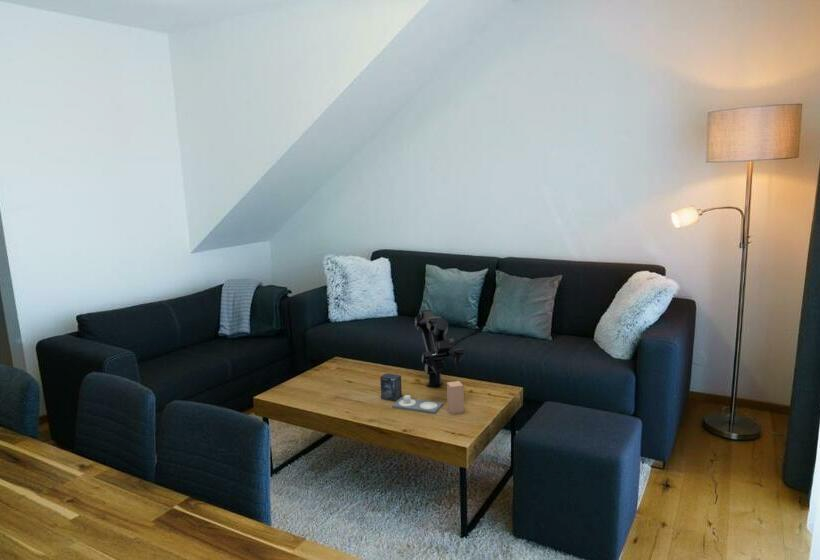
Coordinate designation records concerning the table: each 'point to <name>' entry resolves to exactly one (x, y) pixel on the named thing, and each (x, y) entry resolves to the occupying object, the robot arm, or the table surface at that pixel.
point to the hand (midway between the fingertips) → (447, 372)
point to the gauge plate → (417, 405)
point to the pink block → (455, 397)
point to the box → (391, 387)
